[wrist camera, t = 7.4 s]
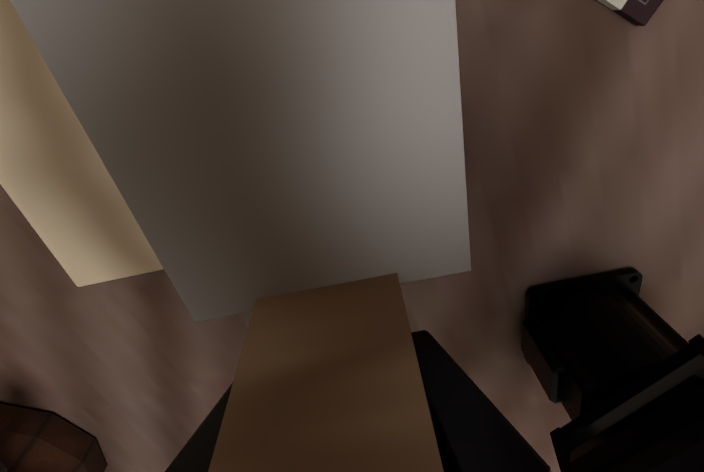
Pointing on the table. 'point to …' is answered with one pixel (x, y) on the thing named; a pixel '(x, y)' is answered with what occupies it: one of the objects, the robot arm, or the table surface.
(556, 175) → the table surface
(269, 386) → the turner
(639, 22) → the chocolate bar
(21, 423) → the mug
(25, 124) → the board
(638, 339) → the robot arm
